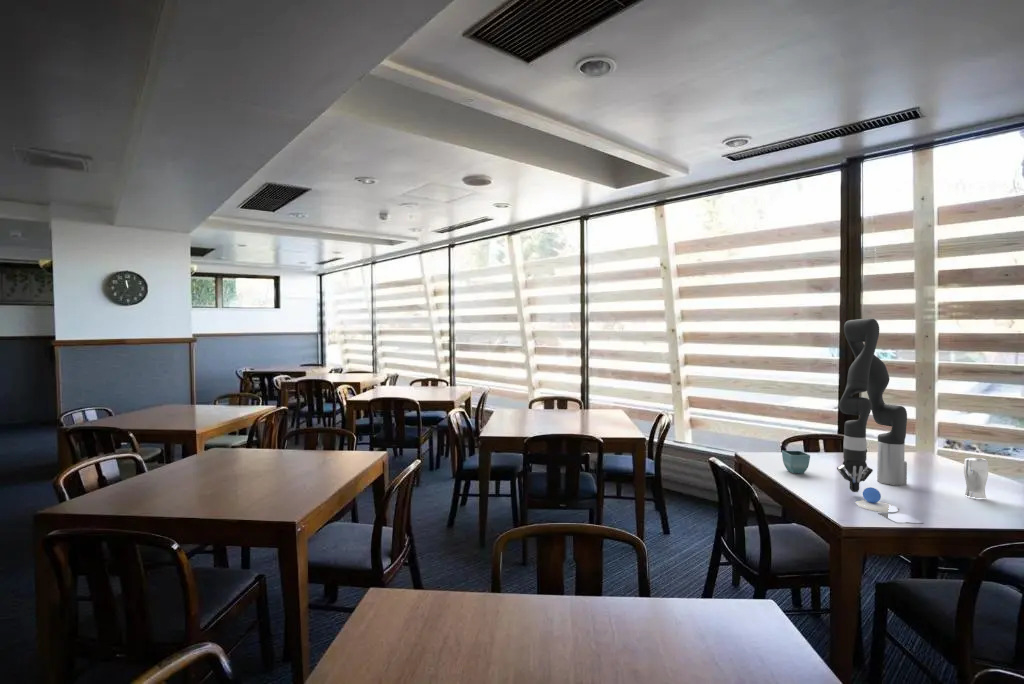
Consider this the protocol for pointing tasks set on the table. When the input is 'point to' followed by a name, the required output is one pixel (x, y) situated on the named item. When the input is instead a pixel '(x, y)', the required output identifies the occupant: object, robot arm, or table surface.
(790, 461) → the flower pot
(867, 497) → the ball
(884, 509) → the disc
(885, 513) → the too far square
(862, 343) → the robot arm
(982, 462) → the beer glass
